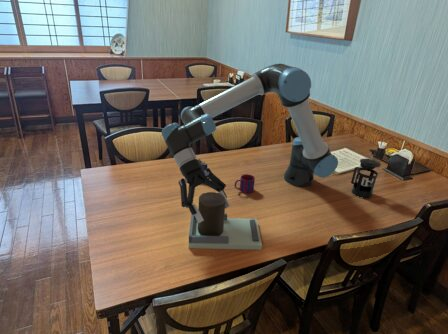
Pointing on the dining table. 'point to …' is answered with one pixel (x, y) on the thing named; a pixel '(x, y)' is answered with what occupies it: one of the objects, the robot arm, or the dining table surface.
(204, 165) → the flask
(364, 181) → the french press
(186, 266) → the dining table surface
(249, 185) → the mug
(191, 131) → the robot arm
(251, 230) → the deck plate
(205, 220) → the pillar candle
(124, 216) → the dining table surface
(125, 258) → the dining table surface
